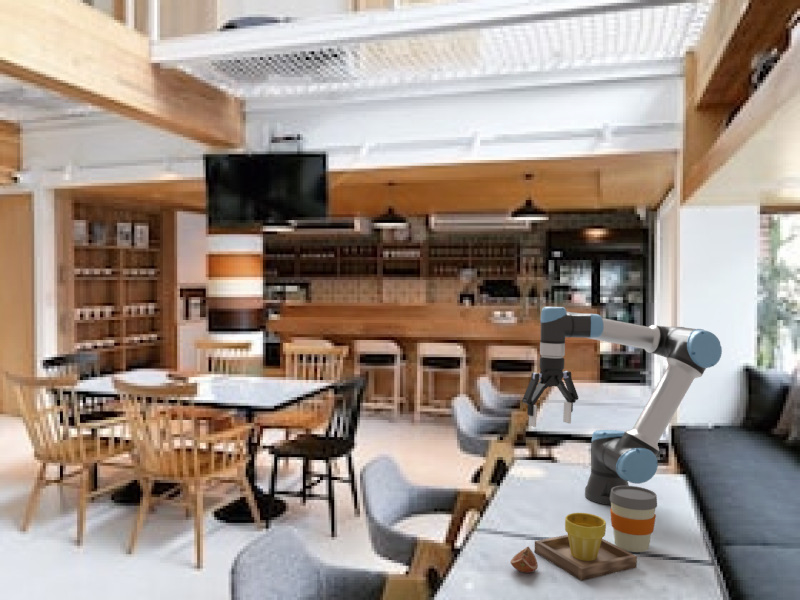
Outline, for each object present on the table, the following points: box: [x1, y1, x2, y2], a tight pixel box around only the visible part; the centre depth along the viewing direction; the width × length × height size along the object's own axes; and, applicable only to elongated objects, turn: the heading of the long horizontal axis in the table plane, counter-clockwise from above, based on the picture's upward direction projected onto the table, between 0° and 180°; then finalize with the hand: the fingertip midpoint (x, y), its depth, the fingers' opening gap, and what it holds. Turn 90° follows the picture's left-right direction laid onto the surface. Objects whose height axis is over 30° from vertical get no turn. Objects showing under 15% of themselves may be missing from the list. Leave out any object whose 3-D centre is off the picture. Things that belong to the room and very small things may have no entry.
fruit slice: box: [510, 546, 539, 574], centre depth 166 cm, size 8×7×5 cm
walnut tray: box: [534, 534, 638, 582], centre depth 173 cm, size 18×18×3 cm
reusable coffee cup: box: [609, 485, 658, 553], centre depth 184 cm, size 13×13×15 cm
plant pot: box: [564, 512, 607, 561], centre depth 173 cm, size 10×10×10 cm
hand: (550, 424), depth 205 cm, fingers open, 13 cm apart
